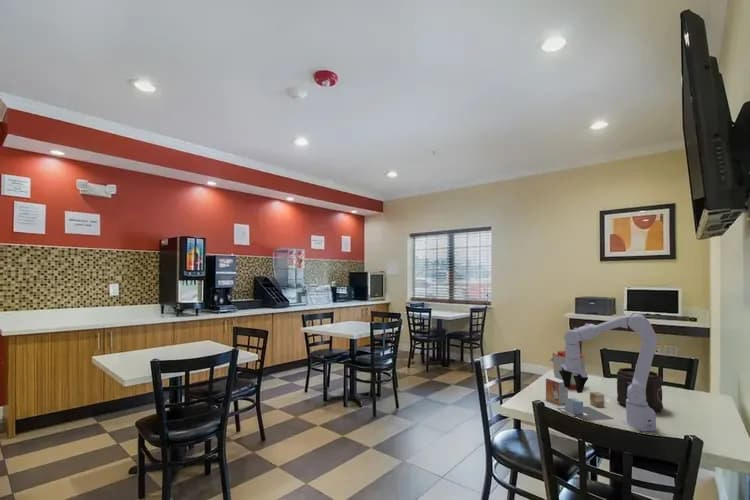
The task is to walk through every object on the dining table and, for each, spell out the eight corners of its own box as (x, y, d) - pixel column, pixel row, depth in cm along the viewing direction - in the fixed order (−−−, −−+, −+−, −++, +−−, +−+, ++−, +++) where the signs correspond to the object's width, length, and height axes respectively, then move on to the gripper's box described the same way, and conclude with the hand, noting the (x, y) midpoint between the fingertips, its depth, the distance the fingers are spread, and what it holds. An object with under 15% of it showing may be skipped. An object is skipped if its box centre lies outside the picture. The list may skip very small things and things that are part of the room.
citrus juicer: (558, 379, 217) (557, 344, 219) (590, 386, 204) (589, 349, 205) (544, 384, 208) (544, 347, 209) (578, 392, 194) (577, 352, 195)
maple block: (604, 407, 171) (604, 394, 172) (596, 408, 171) (596, 394, 171) (597, 404, 175) (597, 391, 176) (590, 405, 175) (589, 392, 175)
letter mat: (614, 420, 157) (614, 418, 157) (580, 422, 154) (580, 421, 154) (587, 407, 171) (587, 406, 172) (556, 409, 169) (556, 408, 169)
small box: (545, 400, 181) (545, 377, 182) (554, 399, 183) (554, 376, 183) (559, 405, 173) (558, 382, 174) (568, 404, 175) (568, 381, 176)
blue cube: (583, 413, 162) (583, 401, 162) (573, 414, 161) (572, 402, 161) (575, 409, 167) (574, 398, 167) (565, 410, 166) (564, 398, 166)
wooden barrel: (653, 402, 180) (652, 368, 181) (671, 416, 162) (670, 378, 163) (610, 398, 185) (609, 365, 186) (623, 411, 167) (622, 375, 168)
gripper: (553, 354, 172) (554, 385, 171) (576, 362, 158) (577, 395, 157) (567, 354, 173) (568, 384, 172) (591, 361, 159) (592, 394, 158)
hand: (573, 389), depth 165 cm, fingers open, 7 cm apart
